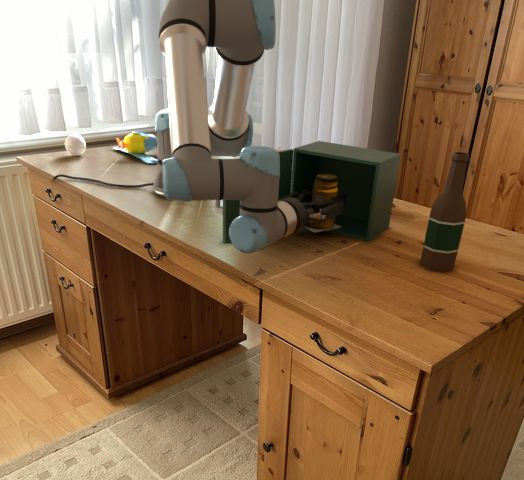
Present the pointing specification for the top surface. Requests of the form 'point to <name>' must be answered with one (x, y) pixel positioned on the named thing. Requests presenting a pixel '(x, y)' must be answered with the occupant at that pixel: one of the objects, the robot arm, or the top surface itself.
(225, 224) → the green cabinet door
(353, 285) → the top surface
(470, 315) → the top surface
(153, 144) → the yellow and blue toy
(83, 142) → the white egg
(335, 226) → the condiment
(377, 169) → the green open cabinet
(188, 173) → the robot arm
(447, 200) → the beer bottle
